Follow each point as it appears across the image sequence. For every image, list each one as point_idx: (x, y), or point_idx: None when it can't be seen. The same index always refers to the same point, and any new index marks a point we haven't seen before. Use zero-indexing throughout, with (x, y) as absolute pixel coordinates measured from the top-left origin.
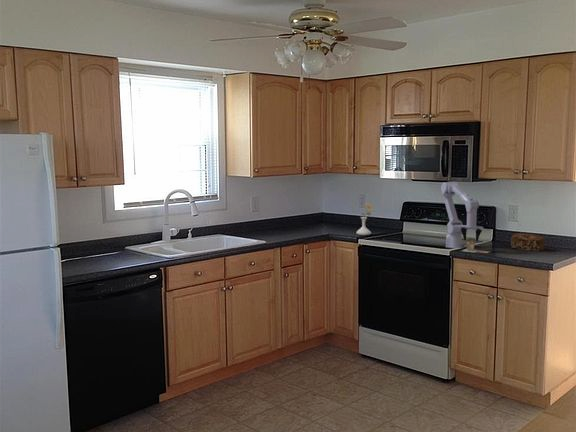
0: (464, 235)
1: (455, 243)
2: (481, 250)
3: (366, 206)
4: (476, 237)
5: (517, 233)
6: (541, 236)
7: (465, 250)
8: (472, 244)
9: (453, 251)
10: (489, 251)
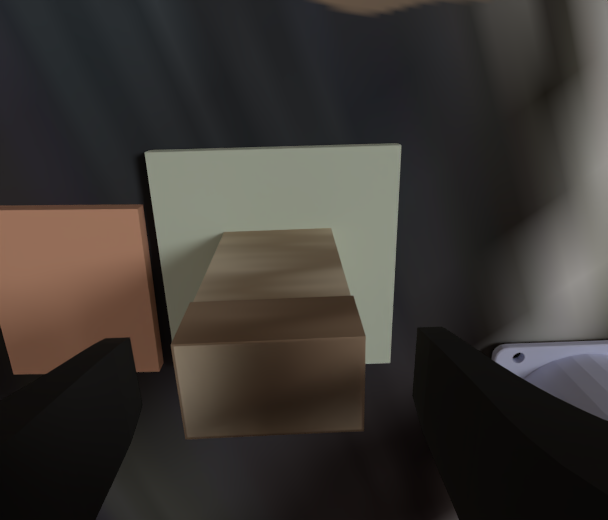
0: (471, 380)
1: (602, 401)
2: (155, 371)
3: None
4: (58, 381)
5: None
6: None
7: (352, 229)
8: (218, 276)
9: (522, 99)
10: (21, 359)
